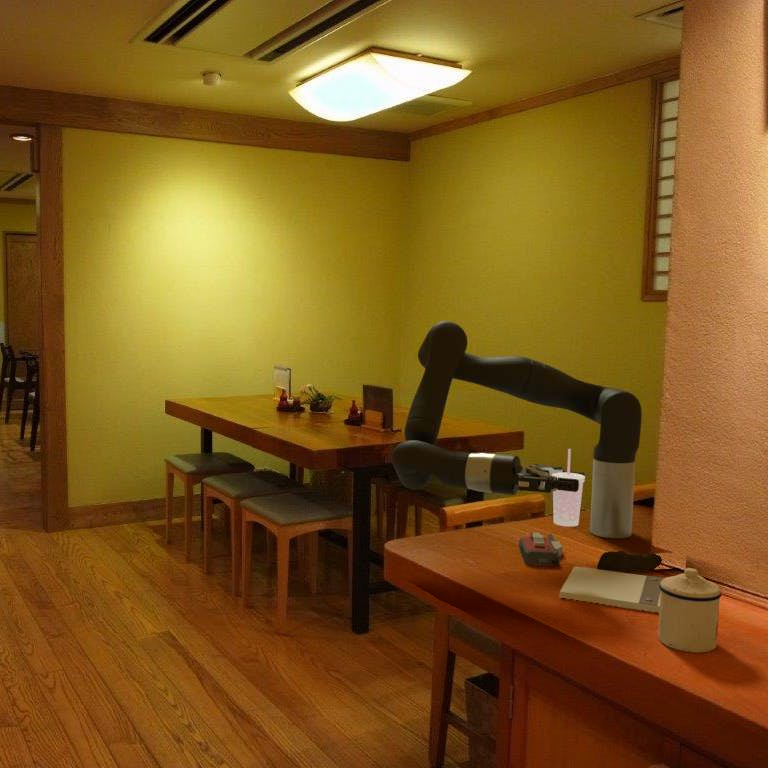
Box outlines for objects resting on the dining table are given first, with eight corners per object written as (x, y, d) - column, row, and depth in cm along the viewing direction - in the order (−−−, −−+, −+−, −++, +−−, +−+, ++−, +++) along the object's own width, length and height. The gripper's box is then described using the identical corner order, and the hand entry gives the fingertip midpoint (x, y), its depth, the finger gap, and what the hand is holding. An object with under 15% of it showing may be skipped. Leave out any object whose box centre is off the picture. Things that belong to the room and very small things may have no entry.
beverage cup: (569, 529, 151) (573, 453, 150) (542, 522, 156) (545, 448, 155) (589, 524, 156) (593, 449, 154) (562, 517, 160) (566, 444, 159)
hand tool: (676, 566, 169) (677, 544, 169) (687, 572, 166) (688, 549, 165) (590, 572, 165) (591, 548, 165) (600, 578, 161) (601, 554, 161)
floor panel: (574, 572, 164) (574, 564, 164) (705, 590, 155) (705, 582, 155) (559, 598, 149) (559, 590, 149) (703, 619, 140) (704, 611, 140)
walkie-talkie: (569, 569, 166) (554, 541, 186) (570, 548, 166) (555, 522, 186) (524, 568, 167) (514, 539, 187) (525, 546, 166) (515, 520, 186)
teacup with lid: (730, 652, 127) (735, 577, 126) (676, 656, 125) (680, 580, 124) (686, 622, 139) (690, 554, 138) (636, 625, 137) (640, 556, 136)
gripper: (483, 460, 153) (576, 469, 147) (503, 447, 167) (588, 455, 160) (482, 500, 154) (574, 510, 148) (501, 484, 167) (586, 494, 161)
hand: (581, 482), depth 154 cm, fingers closed on beverage cup, 6 cm apart
